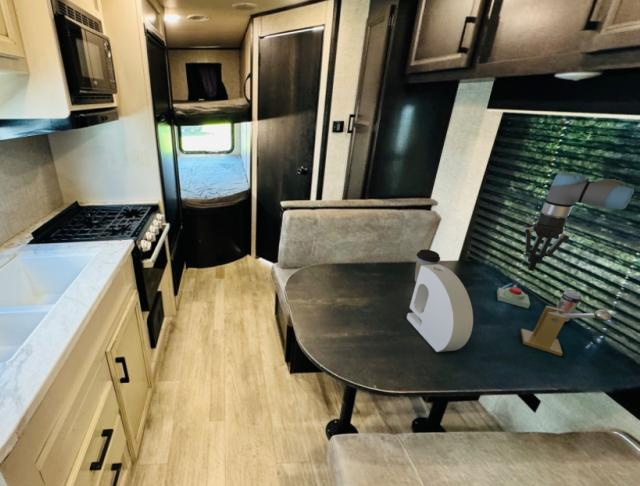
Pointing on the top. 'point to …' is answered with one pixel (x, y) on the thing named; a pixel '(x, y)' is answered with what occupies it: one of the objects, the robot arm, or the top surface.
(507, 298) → the button block
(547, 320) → the bracket
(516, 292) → the button
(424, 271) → the white curved block
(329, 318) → the top surface
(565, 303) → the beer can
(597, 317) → the tap lever
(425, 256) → the coffee cup
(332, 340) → the top surface
